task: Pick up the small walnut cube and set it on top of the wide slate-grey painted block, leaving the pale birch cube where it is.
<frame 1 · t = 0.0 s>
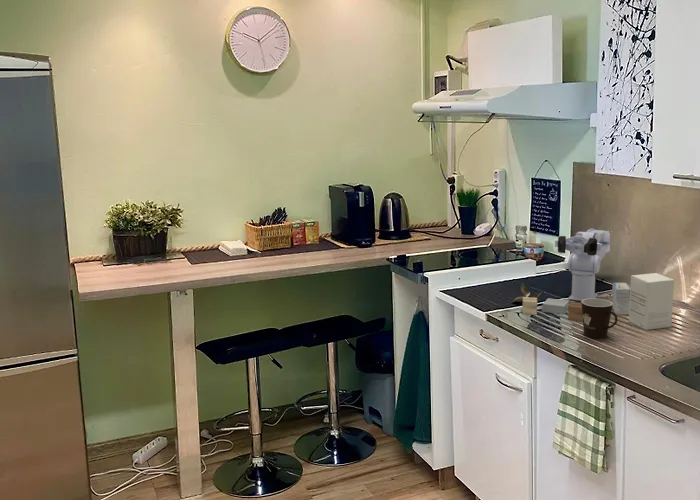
hand: (572, 248, 222), 22 cm above the countertop, tool horizontal, fingers open, 7 cm apart
birch cube: (529, 312, 229), on the countertop
supplement box: (649, 325, 214), on the countertop
eagle figurine: (524, 304, 239), on the countertop
slate block: (555, 311, 231), on the countertop
medicine box: (620, 311, 228), on the countertop
coffee mug: (596, 337, 205), on the countertop
walnut cube: (576, 318, 222), on the countertop
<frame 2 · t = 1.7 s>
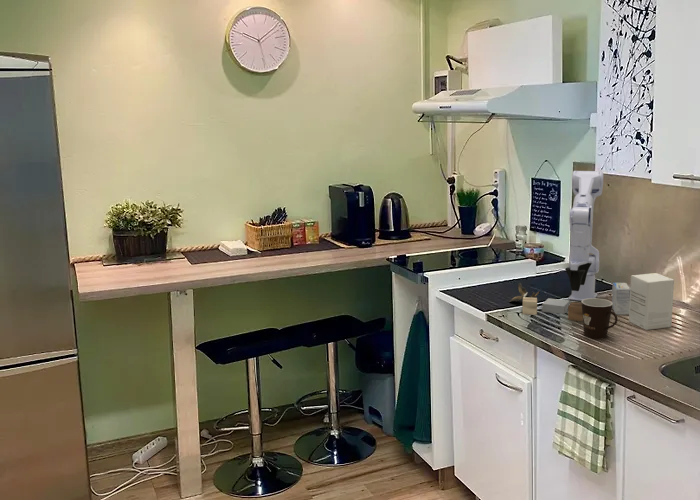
hand: (577, 287, 220), 10 cm above the countertop, tool pointing down, fingers open, 7 cm apart
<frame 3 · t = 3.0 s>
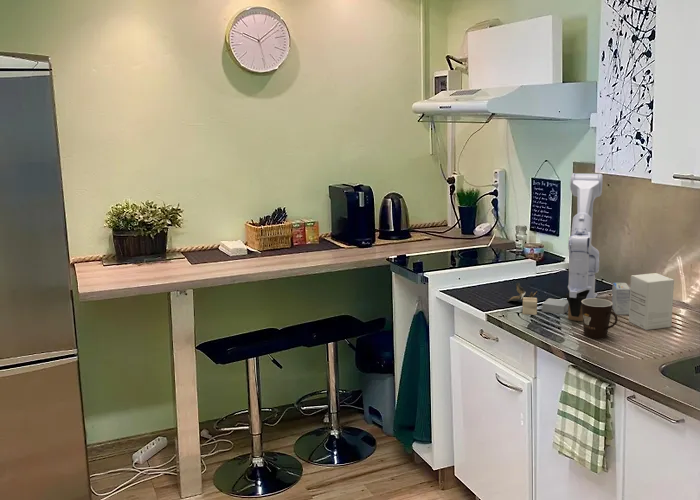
hand: (576, 313, 222), 1 cm above the countertop, tool pointing down, fingers closed on walnut cube, 4 cm apart
walnut cube: (576, 318, 222), on the countertop, touching gripper
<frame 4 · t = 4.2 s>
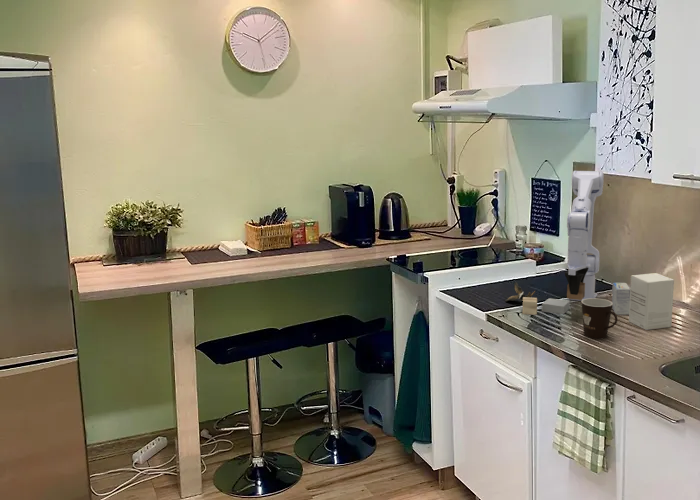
hand: (575, 292, 221), 8 cm above the countertop, tool pointing down, fingers closed on walnut cube, 4 cm apart
walnut cube: (575, 297, 221), point 7 cm above the countertop, touching gripper
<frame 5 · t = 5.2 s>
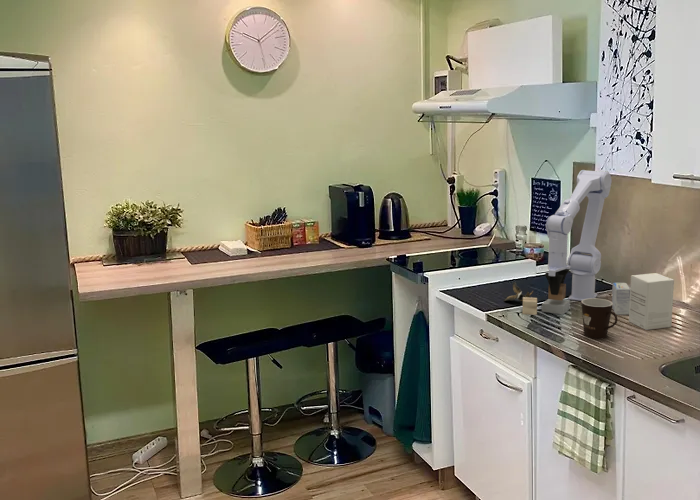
hand: (556, 292, 230), 6 cm above the countertop, tool pointing down, fingers closed on walnut cube, 4 cm apart
walnut cube: (556, 298, 230), point 4 cm above the countertop, touching gripper
when the fingers open (6 cm above the countertop, at t = 5.6 s): walnut cube drops 1 cm, resting on slate block.
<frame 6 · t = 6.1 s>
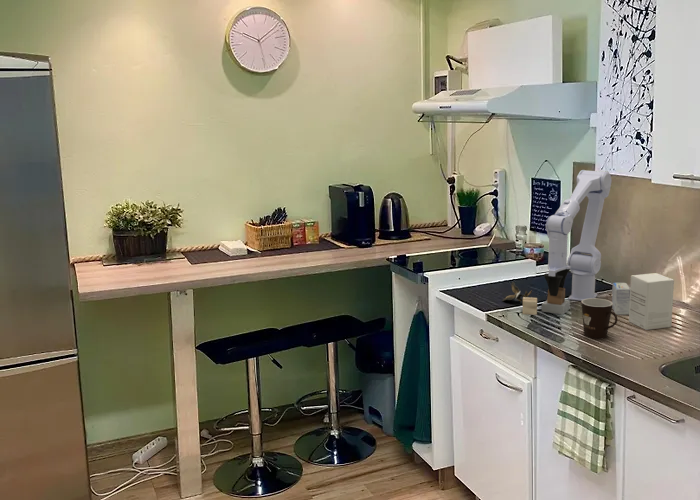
hand: (556, 292, 230), 6 cm above the countertop, tool pointing down, fingers open, 7 cm apart
slate block: (555, 311, 231), on the countertop, touching walnut cube
walnut cube: (556, 302, 231), point 3 cm above the countertop, touching slate block
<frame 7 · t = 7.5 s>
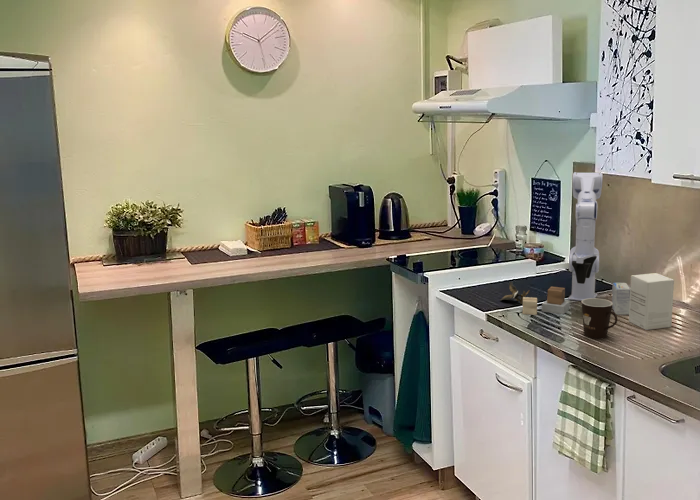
hand: (583, 280, 226), 10 cm above the countertop, tool pointing down, fingers open, 7 cm apart
slate block: (555, 311, 231), on the countertop
walnut cube: (555, 302, 231), point 3 cm above the countertop
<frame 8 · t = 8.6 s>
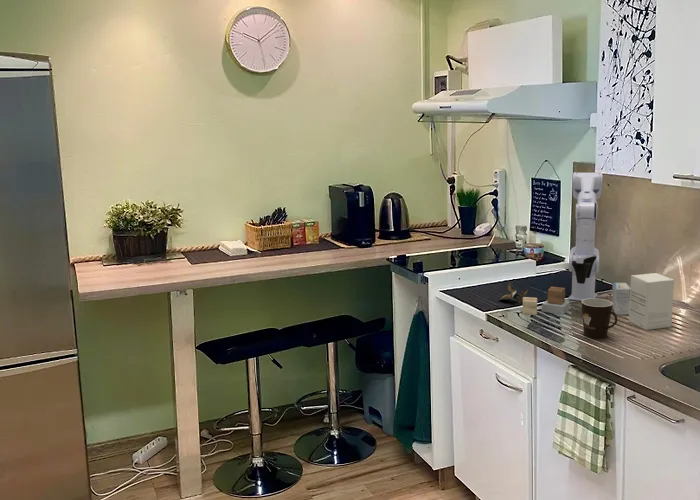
hand: (583, 280, 226), 10 cm above the countertop, tool pointing down, fingers open, 7 cm apart
at the end: walnut cube 0.2 cm off-centre on the slate block, point 3.0 cm above the slate block's base; walnut cube tilted 0°; the gripper is holding nothing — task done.
